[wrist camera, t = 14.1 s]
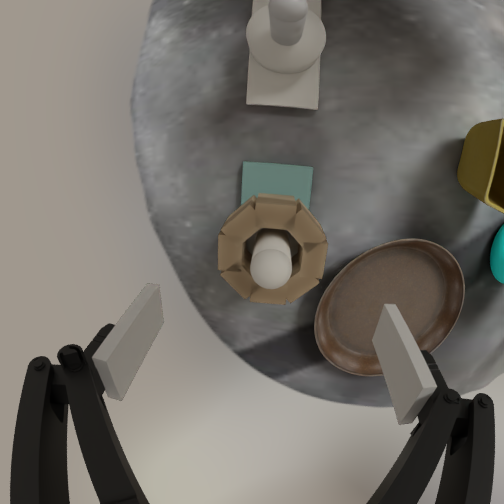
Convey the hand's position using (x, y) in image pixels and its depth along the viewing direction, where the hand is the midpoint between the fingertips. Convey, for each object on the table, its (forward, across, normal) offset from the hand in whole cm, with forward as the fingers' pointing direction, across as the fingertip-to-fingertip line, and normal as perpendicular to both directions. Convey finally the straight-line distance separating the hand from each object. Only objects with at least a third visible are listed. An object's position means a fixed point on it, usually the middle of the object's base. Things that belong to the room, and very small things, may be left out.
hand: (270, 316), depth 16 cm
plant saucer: (+17, +16, -9) cm, 25 cm away
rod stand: (+17, 0, +20) cm, 26 cm away
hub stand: (+17, 0, 0) cm, 17 cm away
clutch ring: (+13, 0, 0) cm, 13 cm away
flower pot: (+17, +24, +11) cm, 31 cm away
